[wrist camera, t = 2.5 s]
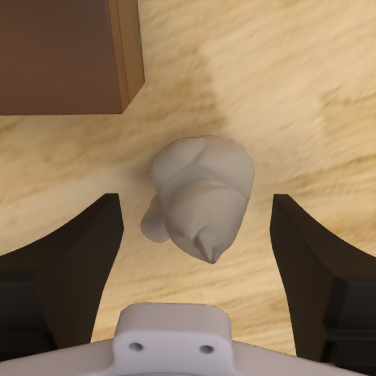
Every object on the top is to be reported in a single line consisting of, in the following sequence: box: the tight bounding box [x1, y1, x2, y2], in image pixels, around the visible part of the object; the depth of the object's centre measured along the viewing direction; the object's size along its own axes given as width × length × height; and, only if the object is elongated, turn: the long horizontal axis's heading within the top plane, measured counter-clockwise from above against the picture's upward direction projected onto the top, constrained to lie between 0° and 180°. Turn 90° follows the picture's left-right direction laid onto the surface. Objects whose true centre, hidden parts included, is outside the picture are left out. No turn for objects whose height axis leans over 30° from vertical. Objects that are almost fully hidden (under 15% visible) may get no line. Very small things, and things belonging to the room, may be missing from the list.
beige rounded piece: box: [141, 136, 255, 264], centre depth 15 cm, size 5×7×8 cm
